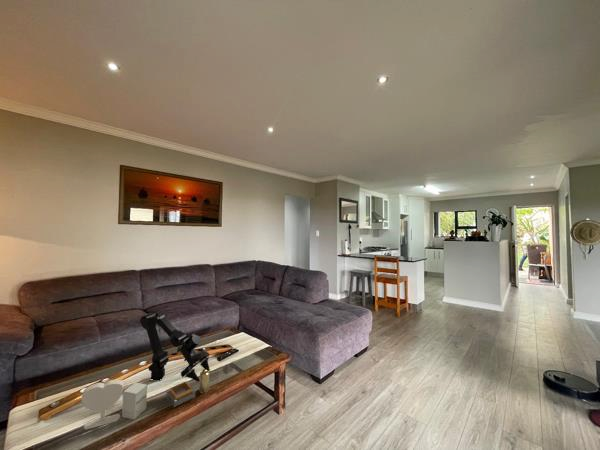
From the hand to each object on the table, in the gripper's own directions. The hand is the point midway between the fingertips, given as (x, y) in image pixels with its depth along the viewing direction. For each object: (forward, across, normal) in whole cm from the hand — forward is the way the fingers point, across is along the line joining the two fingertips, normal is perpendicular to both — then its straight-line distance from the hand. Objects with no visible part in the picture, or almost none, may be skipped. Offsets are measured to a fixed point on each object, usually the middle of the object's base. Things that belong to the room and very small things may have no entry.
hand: (204, 376), depth 143 cm
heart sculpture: (-16, -34, +27) cm, 46 cm away
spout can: (+6, 0, +6) cm, 8 cm away
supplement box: (-9, -25, +21) cm, 34 cm away
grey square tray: (0, -9, +11) cm, 14 cm away
